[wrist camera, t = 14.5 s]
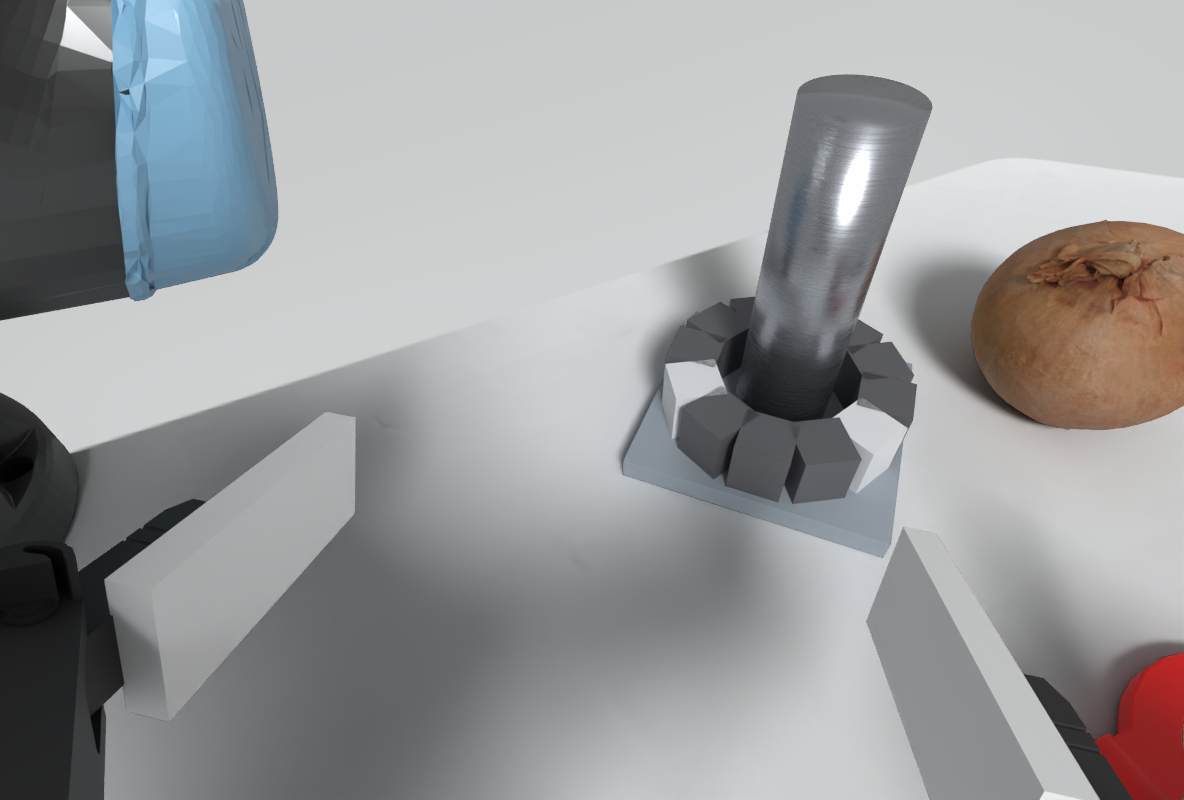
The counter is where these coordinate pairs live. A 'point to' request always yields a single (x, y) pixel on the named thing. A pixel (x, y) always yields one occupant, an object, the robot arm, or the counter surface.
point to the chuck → (779, 435)
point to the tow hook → (1150, 733)
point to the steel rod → (827, 236)
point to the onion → (1087, 326)
